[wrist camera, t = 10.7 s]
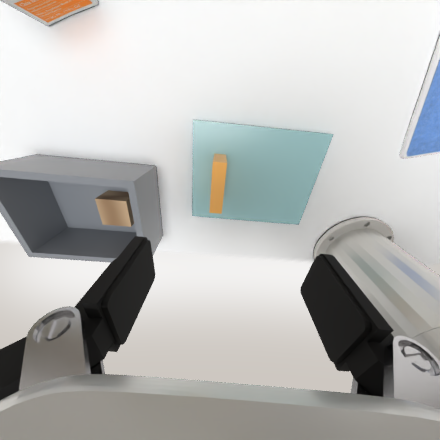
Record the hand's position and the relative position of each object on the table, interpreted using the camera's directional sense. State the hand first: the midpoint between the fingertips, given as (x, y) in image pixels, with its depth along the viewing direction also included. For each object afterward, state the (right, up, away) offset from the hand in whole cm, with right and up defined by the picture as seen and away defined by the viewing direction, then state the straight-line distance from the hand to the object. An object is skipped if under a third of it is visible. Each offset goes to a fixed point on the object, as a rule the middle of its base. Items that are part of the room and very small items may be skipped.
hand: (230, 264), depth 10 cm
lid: (+4, +8, +15) cm, 17 cm away
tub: (-18, +6, +17) cm, 25 cm away
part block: (-15, +5, +16) cm, 23 cm away
